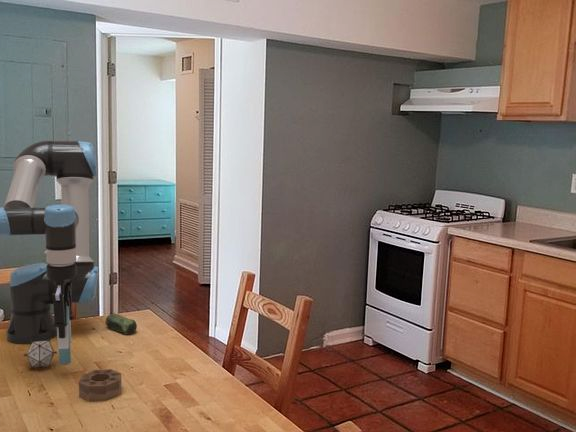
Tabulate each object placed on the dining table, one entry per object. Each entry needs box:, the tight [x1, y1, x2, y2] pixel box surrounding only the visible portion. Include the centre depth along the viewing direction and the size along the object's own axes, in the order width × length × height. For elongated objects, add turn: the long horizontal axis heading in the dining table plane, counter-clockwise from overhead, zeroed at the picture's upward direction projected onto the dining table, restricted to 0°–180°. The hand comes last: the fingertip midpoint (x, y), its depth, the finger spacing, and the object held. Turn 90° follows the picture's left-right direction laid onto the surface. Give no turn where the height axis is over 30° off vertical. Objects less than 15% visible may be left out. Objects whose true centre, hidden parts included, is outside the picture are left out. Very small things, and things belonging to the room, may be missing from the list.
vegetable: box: [105, 313, 138, 335], centre depth 193 cm, size 14×5×5 cm, turn 53°
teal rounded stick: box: [58, 306, 72, 366], centre depth 156 cm, size 3×3×16 cm
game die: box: [23, 338, 58, 371], centre depth 162 cm, size 9×8×10 cm
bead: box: [78, 368, 122, 402], centre depth 148 cm, size 10×10×4 cm
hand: (64, 345), depth 156 cm, fingers closed on teal rounded stick, 3 cm apart
